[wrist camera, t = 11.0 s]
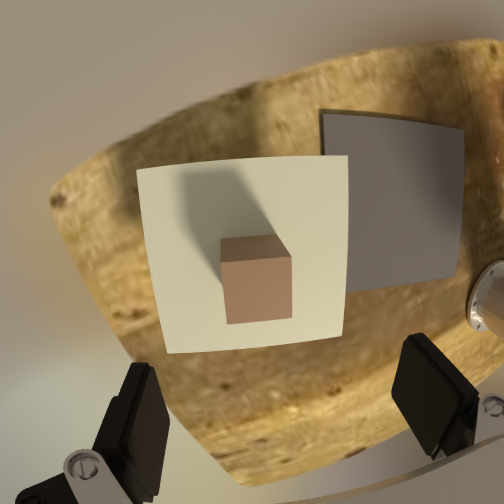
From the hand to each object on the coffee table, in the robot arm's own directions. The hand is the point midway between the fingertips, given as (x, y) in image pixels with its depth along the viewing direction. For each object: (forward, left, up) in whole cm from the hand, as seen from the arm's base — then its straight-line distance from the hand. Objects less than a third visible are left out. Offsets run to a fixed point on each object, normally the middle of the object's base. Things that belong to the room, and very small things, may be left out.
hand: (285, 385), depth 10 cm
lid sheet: (0, 0, -14) cm, 14 cm away
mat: (-19, -2, -23) cm, 30 cm away
